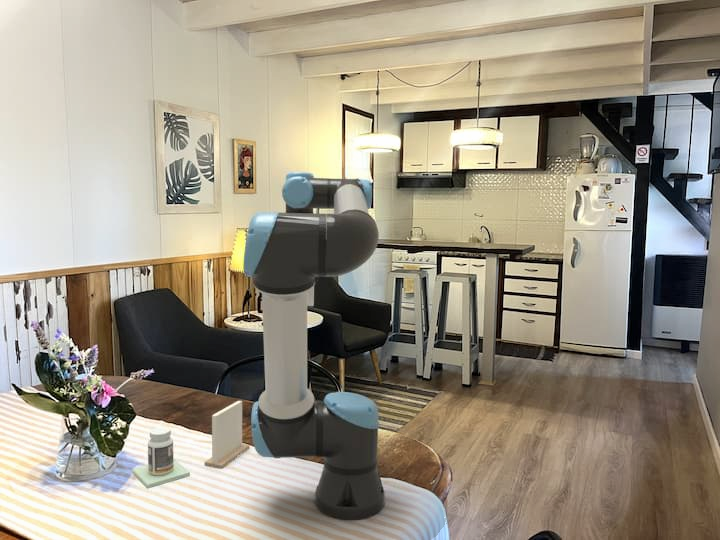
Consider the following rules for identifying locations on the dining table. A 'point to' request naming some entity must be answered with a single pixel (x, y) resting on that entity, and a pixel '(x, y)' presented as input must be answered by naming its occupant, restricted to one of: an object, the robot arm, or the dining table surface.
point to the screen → (226, 436)
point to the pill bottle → (160, 451)
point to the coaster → (154, 480)
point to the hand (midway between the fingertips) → (298, 309)
